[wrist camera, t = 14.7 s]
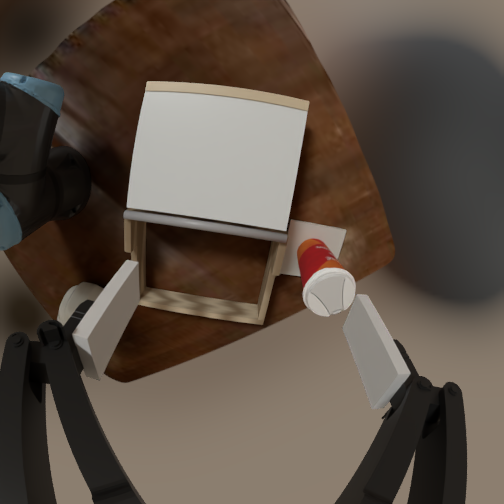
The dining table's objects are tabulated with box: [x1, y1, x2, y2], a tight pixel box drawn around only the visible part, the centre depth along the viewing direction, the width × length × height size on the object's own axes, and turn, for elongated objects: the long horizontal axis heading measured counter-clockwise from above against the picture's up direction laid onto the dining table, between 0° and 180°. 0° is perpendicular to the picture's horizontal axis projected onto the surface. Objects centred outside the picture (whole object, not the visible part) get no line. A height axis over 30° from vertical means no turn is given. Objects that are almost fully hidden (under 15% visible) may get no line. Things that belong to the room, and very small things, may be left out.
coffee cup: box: [297, 238, 356, 317], centre depth 46 cm, size 8×8×15 cm
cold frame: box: [124, 208, 289, 325], centre depth 50 cm, size 26×20×8 cm
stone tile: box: [280, 219, 346, 276], centre depth 53 cm, size 11×11×1 cm
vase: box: [57, 282, 104, 326], centre depth 52 cm, size 14×14×13 cm
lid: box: [123, 81, 309, 243], centre depth 39 cm, size 26×22×5 cm
